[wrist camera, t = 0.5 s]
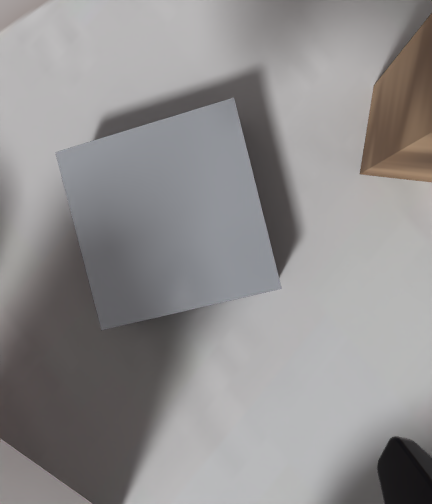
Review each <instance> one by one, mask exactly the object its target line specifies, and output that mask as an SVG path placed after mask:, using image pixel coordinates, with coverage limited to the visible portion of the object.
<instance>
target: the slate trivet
mask: <svg viewBox="0 0 432 504" xmlns="http://www.w3.org/2000/svg"><path fill="white" fill-rule="evenodd" d="M55 153H56V157H57V161H58V165H59V169H60V173H61V176H62V180H63V184H64V188H65V192H66V196H67V200H68V203H69V207H70V211H71V215H72V219H73V223H74V226H75V230H76V234H77V238H78V242H79V246H80V249H81V253H82V257H83V261H84V265H85V269H86V273H87V276H88V280H89V284H90V288H91V292H92V296H93V299H94V303H95V307H96V311H97V315H98V319H99V322H100V326H101V330H105V329H110V328H114V327H118V326H123V325H127V324H131V323H136V322H140V321H144V320H149V319H153V318H157V317H162V316H166V315H170V314H175V313H179V312H183V311H188V310H192V309H196V308H201V307H205V306H209V305H214V304H218V303H222V302H227V301H231V300H235V299H240V298H244V297H248V296H253V295H257V294H261V293H266V292H270V291H274V290H278V289H282V288H281V284H280V280H279V276H278V272H277V268H276V264H275V260H274V256H273V252H272V248H271V243H270V239H269V235H268V231H267V227H266V223H265V219H264V215H263V211H262V207H261V203H260V199H259V195H258V191H257V187H256V183H255V179H254V175H253V171H252V167H251V163H250V159H249V155H248V151H247V147H246V143H245V139H244V135H243V131H242V127H241V123H240V119H239V115H238V111H237V107H236V103H235V99H234V98H231V99H227V100H224V101H221V102H218V103H214V104H211V105H208V106H204V107H201V108H198V109H195V110H191V111H188V112H185V113H182V114H178V115H175V116H172V117H169V118H165V119H162V120H159V121H156V122H152V123H149V124H146V125H143V126H139V127H136V128H133V129H130V130H126V131H123V132H120V133H116V134H113V135H110V136H107V137H103V138H100V139H97V140H94V141H90V142H87V143H84V144H81V145H77V146H74V147H71V148H68V149H64V150H61V151H58V152H55Z"/></svg>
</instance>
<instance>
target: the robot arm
mask: <svg viewBox="0 0 432 504" xmlns="http://www.w3.org/2000/svg"><path fill="white" fill-rule="evenodd" d="M377 470H378V476H379V481H380V485H381V490H382V494H383V498H384V503H385V504H432V457H431V456H430V455H428V454H427V453H426V452H425V451H424V450H423V449H422V448H421V447H420V446H419V445H417V444H416V443H415V442H414V441H412V440H410V439H407V438H402V437H397V436H394V437H392V438H390V440H389V442H388V443H387V445H386V447H385V449H384V451H383V453H382V455H381V456H380V458H379V460H378V465H377Z"/></svg>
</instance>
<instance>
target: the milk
mask: <svg viewBox="0 0 432 504" xmlns="http://www.w3.org/2000/svg"><path fill="white" fill-rule="evenodd" d="M0 504H92V503H91V502H90V501H88V500H87V499H85V498H84V497H83V496H81V495H80V494H78V493H77V492H76V491H74V490H73V489H71V488H70V487H68V486H67V485H66V484H64V483H63V482H61V481H60V480H59V479H57V478H56V477H54V476H53V475H51V474H50V473H49V472H47V471H46V470H44V469H43V468H42V467H40V466H39V465H37V464H36V463H34V462H33V461H32V460H30V459H29V458H27V457H26V456H25V455H23V454H22V453H20V452H19V451H17V450H16V449H15V448H13V447H12V446H10V445H9V444H8V443H6V442H5V441H3V440H2V439H0Z"/></svg>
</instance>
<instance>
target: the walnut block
mask: <svg viewBox="0 0 432 504" xmlns="http://www.w3.org/2000/svg"><path fill="white" fill-rule="evenodd" d="M360 174H363V175H372V176H381V177H389V178H398V179H407V180H416V181H425V182H432V13H431V15H430V16H429V17H428V18H427V20H426V21H425V22H424V23H423V25H422V26H421V27H420V28H419V30H418V31H417V32H416V33H415V35H414V36H413V37H412V38H411V40H410V41H409V42H408V43H407V45H406V46H405V47H404V48H403V50H402V51H401V52H400V53H399V55H398V56H397V57H396V58H395V60H394V61H393V62H392V64H391V65H390V66H389V67H388V69H387V70H386V71H385V72H384V74H383V75H382V76H381V77H380V79H379V80H378V81H377V82H376V84H375V85H374V88H373V94H372V100H371V107H370V113H369V119H368V125H367V132H366V138H365V144H364V150H363V157H362V163H361V169H360Z"/></svg>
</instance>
